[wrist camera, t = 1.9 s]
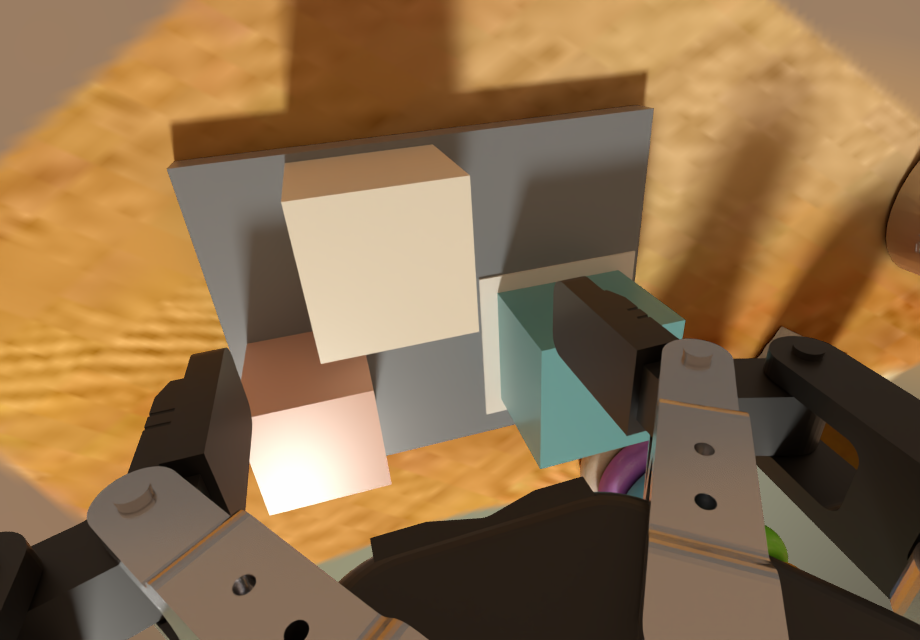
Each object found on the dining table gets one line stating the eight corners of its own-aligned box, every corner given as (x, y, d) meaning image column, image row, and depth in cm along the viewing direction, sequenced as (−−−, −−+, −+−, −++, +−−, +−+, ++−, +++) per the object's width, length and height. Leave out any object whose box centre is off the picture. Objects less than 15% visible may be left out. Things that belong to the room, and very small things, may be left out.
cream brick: (432, 144, 20) (469, 175, 15) (444, 274, 22) (479, 331, 18) (284, 163, 18) (281, 202, 14) (316, 297, 21) (320, 363, 17)
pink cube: (359, 322, 22) (373, 390, 18) (375, 406, 25) (391, 484, 20) (246, 343, 21) (234, 420, 17) (274, 429, 24) (269, 515, 19)
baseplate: (637, 104, 22) (655, 108, 21) (610, 385, 30) (622, 399, 29) (173, 161, 19) (166, 169, 17) (276, 465, 26) (276, 484, 25)
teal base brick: (618, 269, 24) (685, 319, 20) (608, 373, 27) (665, 435, 23) (497, 293, 23) (541, 350, 19) (501, 398, 26) (540, 468, 22)
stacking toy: (688, 378, 31) (1089, 735, 15) (687, 468, 35) (1002, 819, 20) (567, 425, 30) (862, 853, 15) (581, 511, 35) (821, 915, 19)
